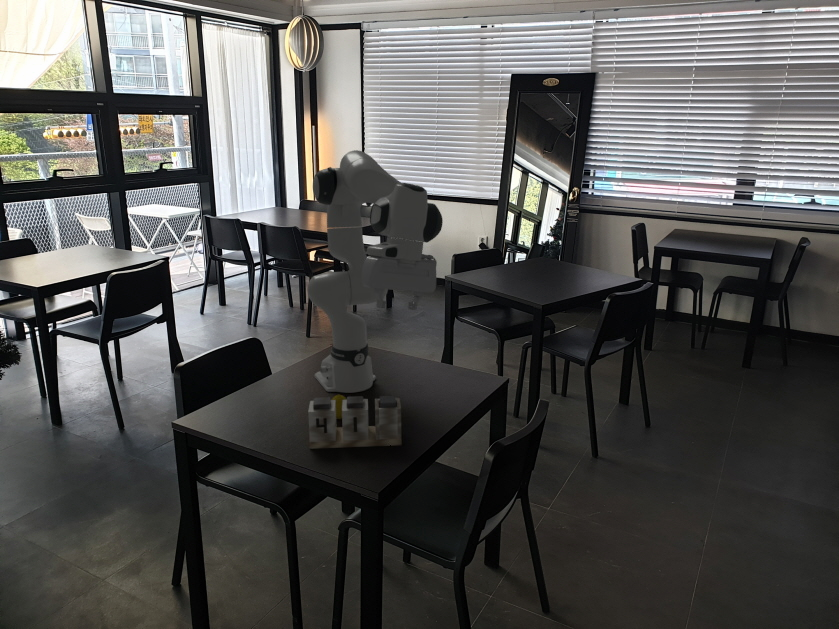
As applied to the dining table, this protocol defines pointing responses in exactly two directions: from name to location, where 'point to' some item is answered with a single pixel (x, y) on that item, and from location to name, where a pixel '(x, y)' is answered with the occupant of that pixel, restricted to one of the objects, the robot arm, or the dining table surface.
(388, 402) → the plain button
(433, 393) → the dining table surface
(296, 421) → the dining table surface
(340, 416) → the lemon
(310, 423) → the button panel
